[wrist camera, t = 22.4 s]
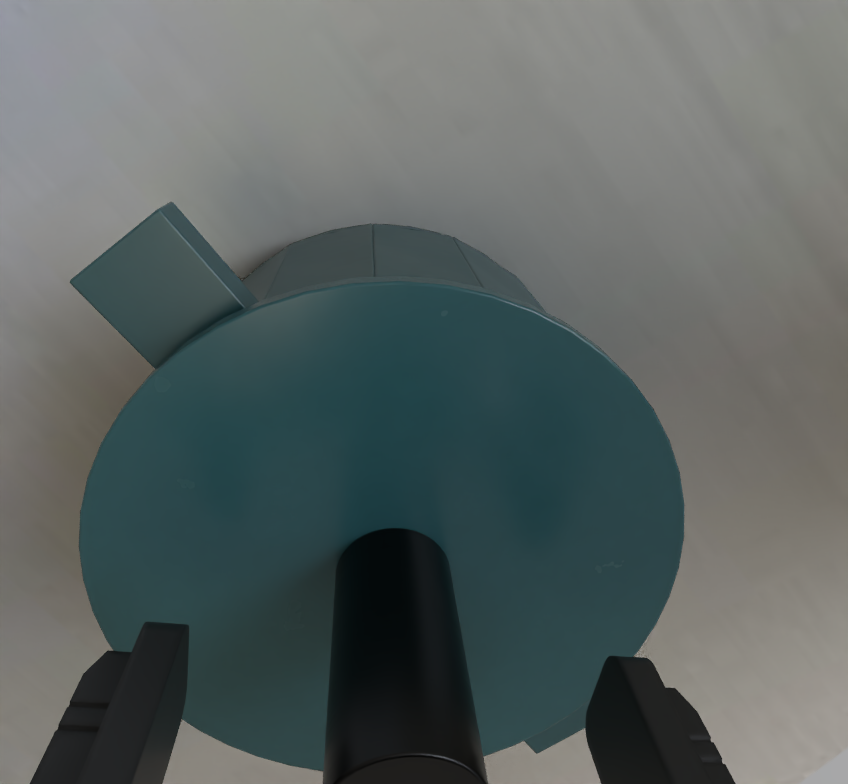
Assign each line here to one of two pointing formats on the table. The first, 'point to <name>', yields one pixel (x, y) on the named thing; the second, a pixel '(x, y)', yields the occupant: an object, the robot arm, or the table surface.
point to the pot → (269, 293)
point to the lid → (385, 525)
